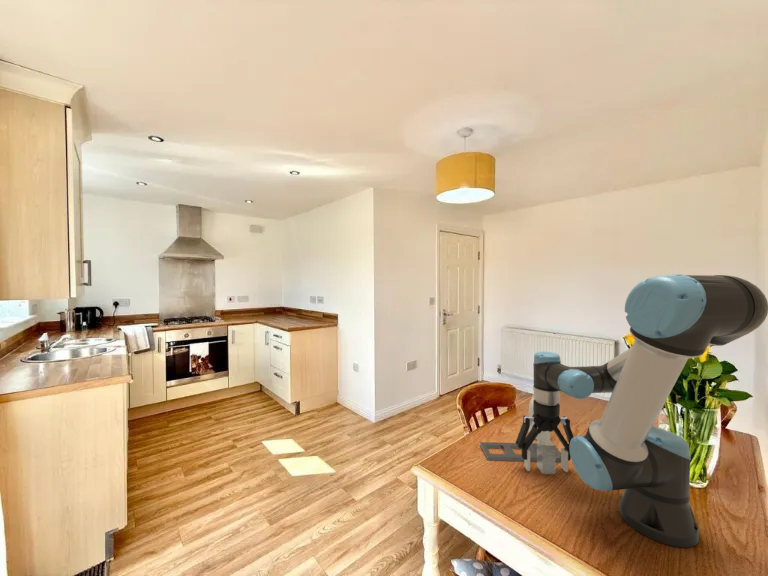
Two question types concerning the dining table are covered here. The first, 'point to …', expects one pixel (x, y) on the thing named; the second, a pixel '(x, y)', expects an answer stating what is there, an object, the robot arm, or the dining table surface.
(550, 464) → the block
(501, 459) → the grey slotted plate
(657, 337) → the robot arm
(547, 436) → the milk bottle
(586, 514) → the dining table surface
